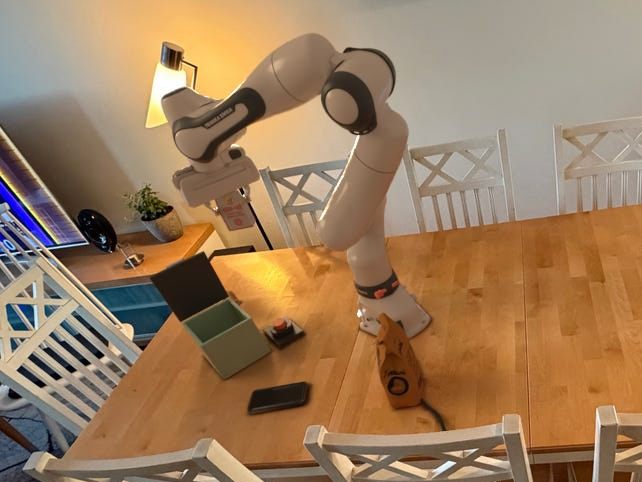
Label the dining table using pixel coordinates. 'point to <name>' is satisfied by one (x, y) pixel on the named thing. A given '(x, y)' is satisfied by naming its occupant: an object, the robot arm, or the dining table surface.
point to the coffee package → (397, 365)
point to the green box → (226, 337)
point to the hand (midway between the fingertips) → (233, 208)
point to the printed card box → (235, 211)
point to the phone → (278, 397)
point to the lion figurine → (233, 297)
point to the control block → (284, 333)
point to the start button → (279, 324)
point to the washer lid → (189, 286)
